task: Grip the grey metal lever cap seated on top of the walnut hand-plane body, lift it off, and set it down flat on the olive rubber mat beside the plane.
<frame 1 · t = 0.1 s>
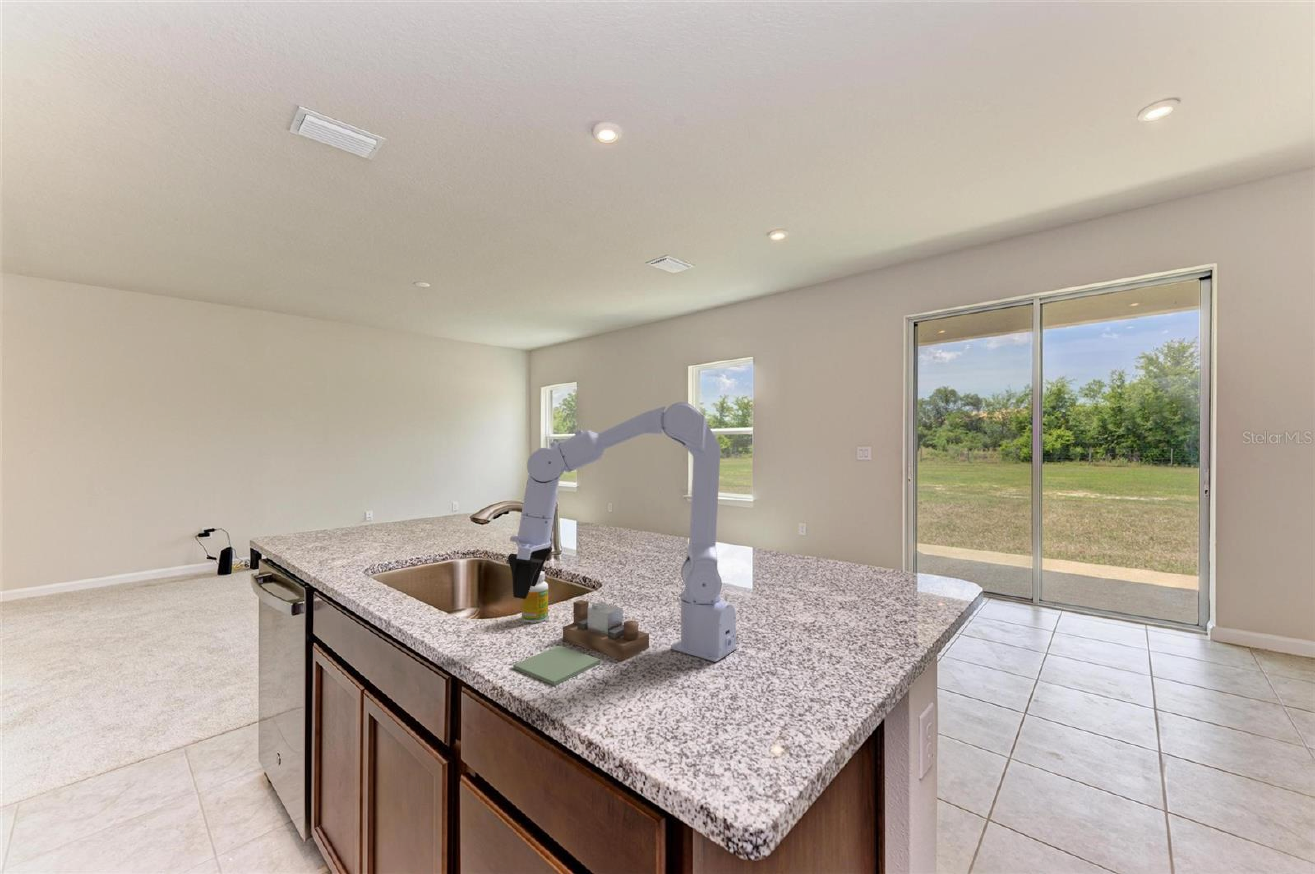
hand: (525, 591, 89), 11 cm above the worktop, tool pointing down, fingers open, 7 cm apart
supplement bottle: (535, 620, 105), on the worktop
plane body: (605, 644, 92), on the worktop
rubber mat: (557, 665, 83), on the worktop
lever cap: (605, 630, 92), point 2 cm above the worktop, touching plane body
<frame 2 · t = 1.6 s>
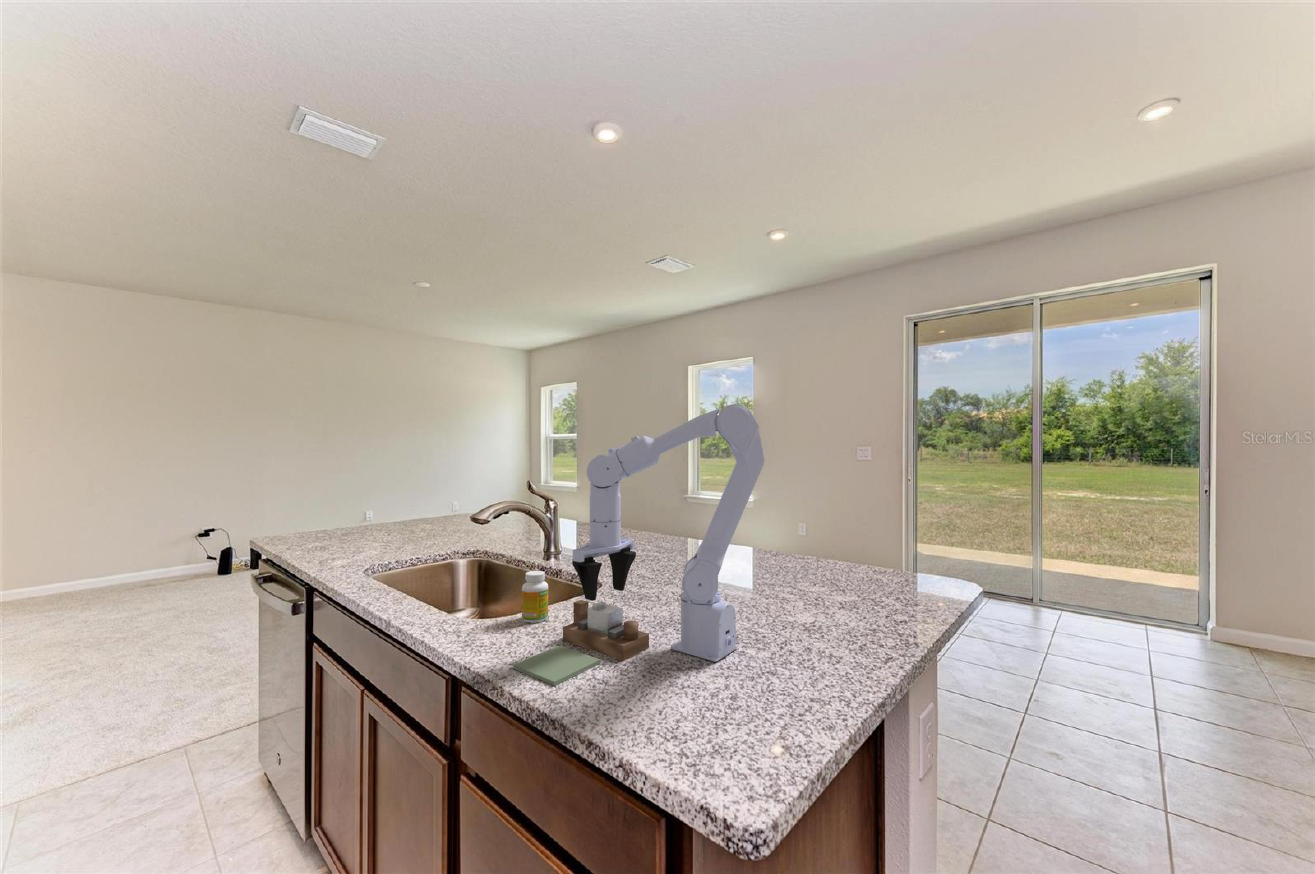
hand: (605, 594, 92), 9 cm above the worktop, tool pointing down, fingers open, 7 cm apart
nothing on the worktop moved.
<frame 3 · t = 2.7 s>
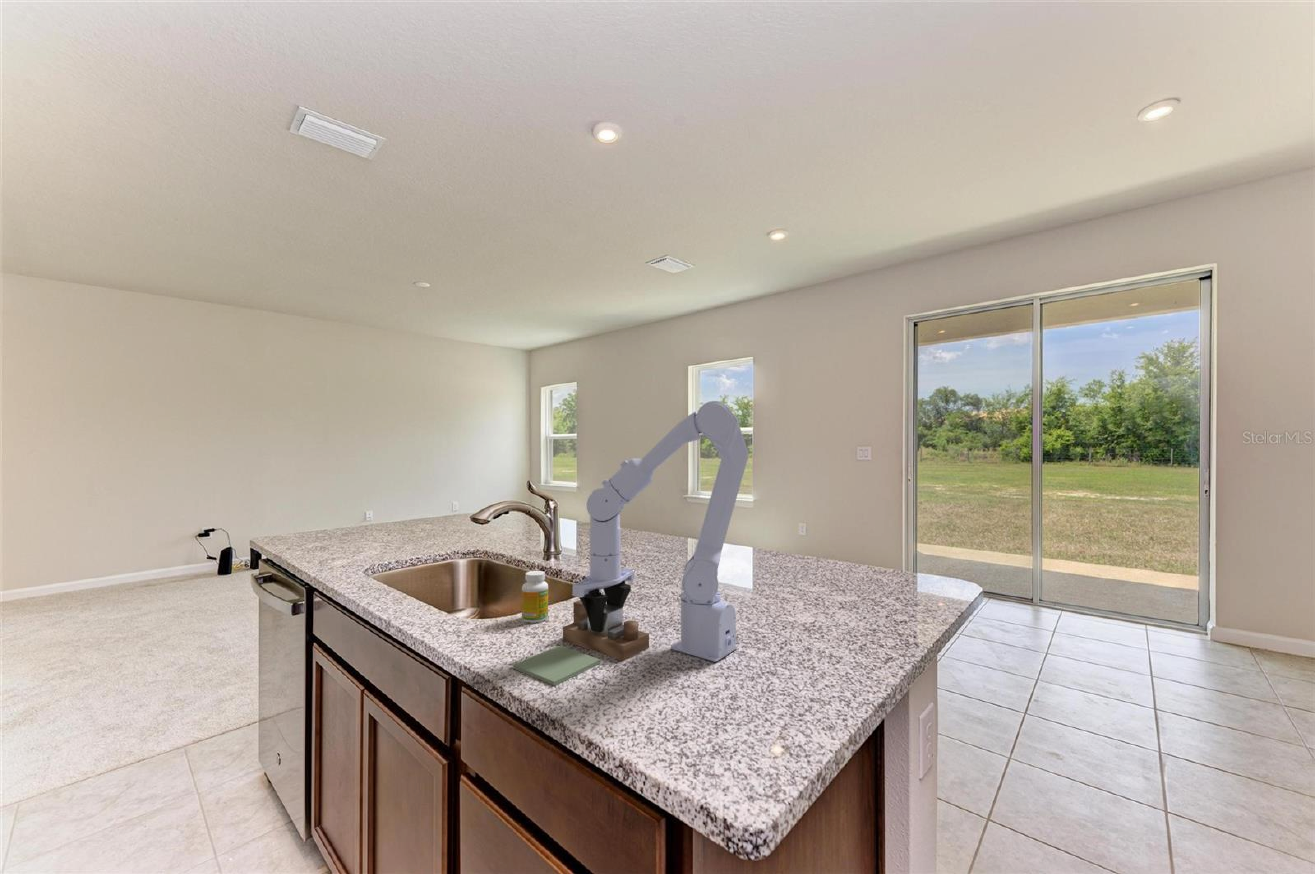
hand: (605, 627, 92), 3 cm above the worktop, tool pointing down, fingers closed on lever cap, 4 cm apart
lever cap: (605, 630, 92), point 2 cm above the worktop, touching gripper, plane body
everything else where it was.
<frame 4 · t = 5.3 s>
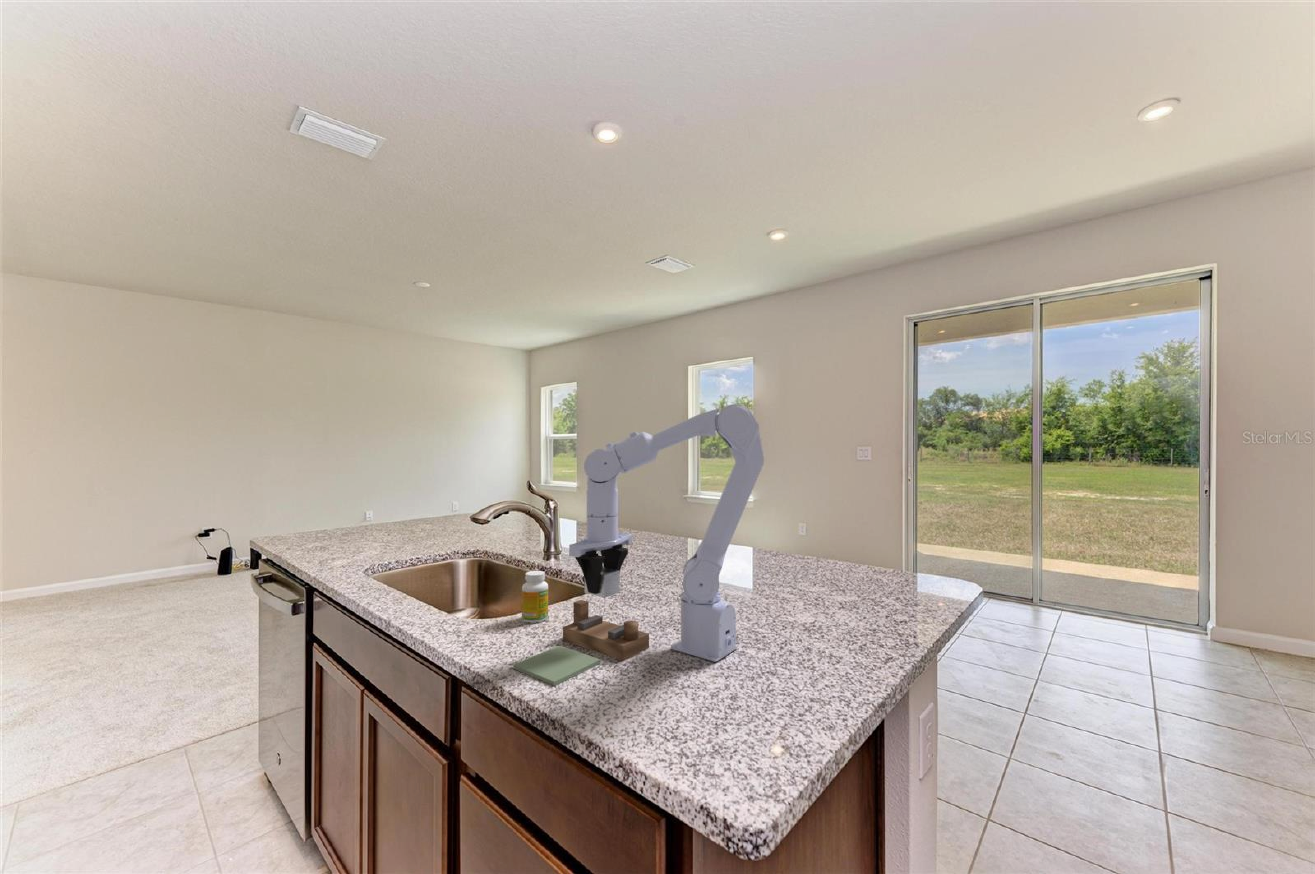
hand: (602, 589, 91), 10 cm above the worktop, tool pointing down, fingers closed on lever cap, 4 cm apart
lever cap: (602, 592, 91), point 10 cm above the worktop, touching gripper
everything else where it was.
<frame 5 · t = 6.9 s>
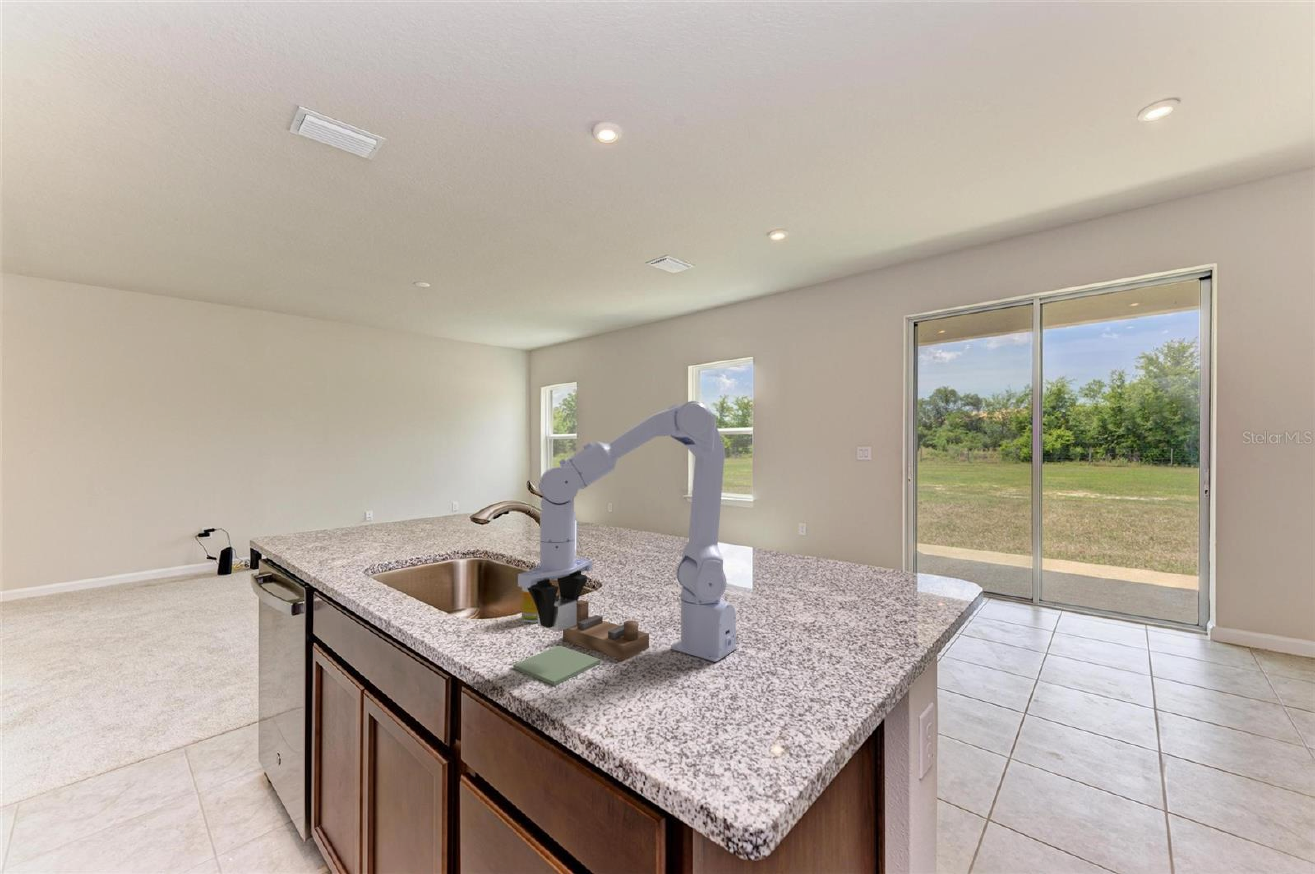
hand: (557, 622, 83), 7 cm above the worktop, tool pointing down, fingers closed on lever cap, 4 cm apart
lever cap: (557, 625, 83), point 7 cm above the worktop, touching gripper
everything else where it was.
when the fingers open (3 cm above the worktop, at t = 8.0 s): lever cap drops 2 cm, resting on rubber mat.
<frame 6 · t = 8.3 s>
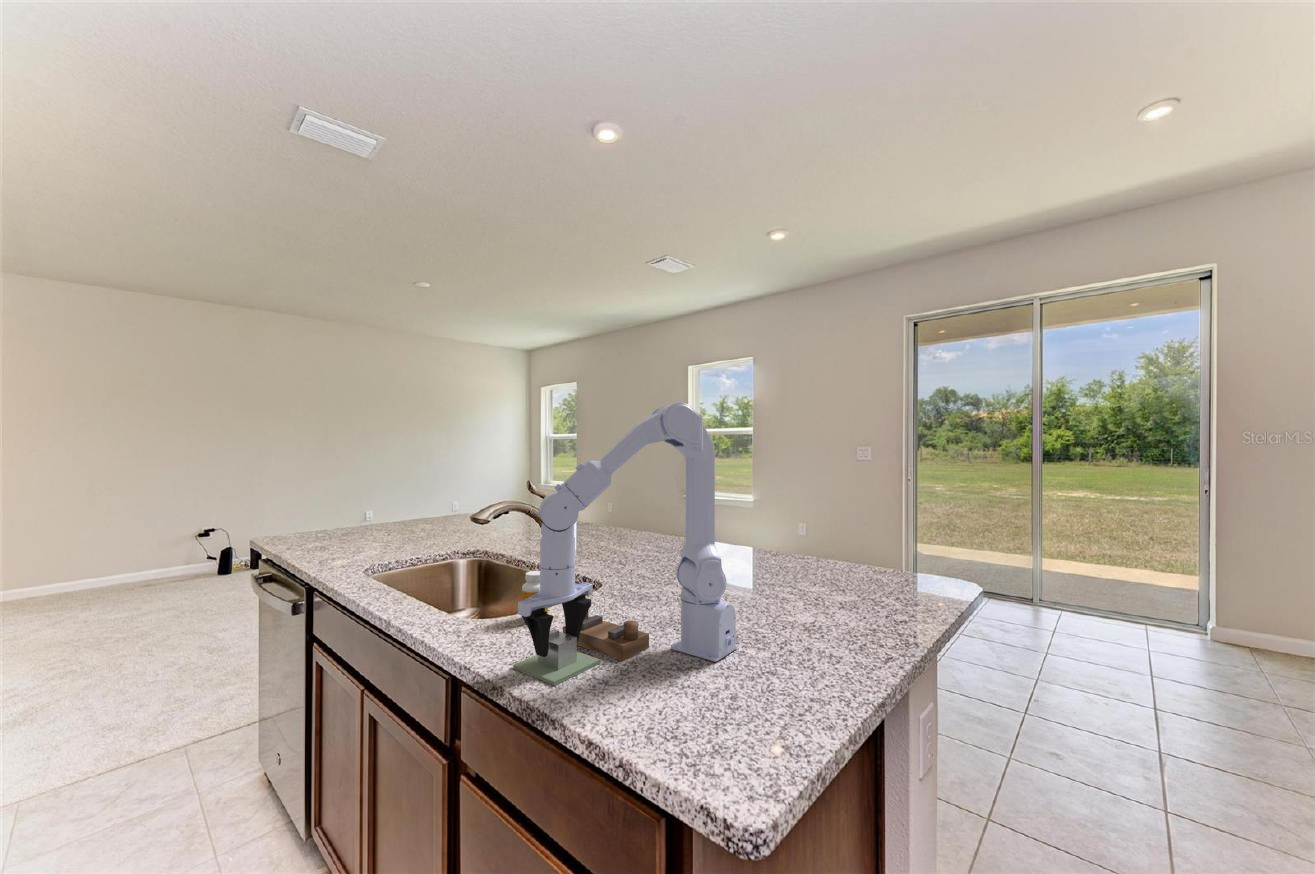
hand: (557, 648, 83), 3 cm above the worktop, tool pointing down, fingers open, 6 cm apart
lever cap: (557, 662, 83), point 1 cm above the worktop, touching rubber mat
everything else where it was.
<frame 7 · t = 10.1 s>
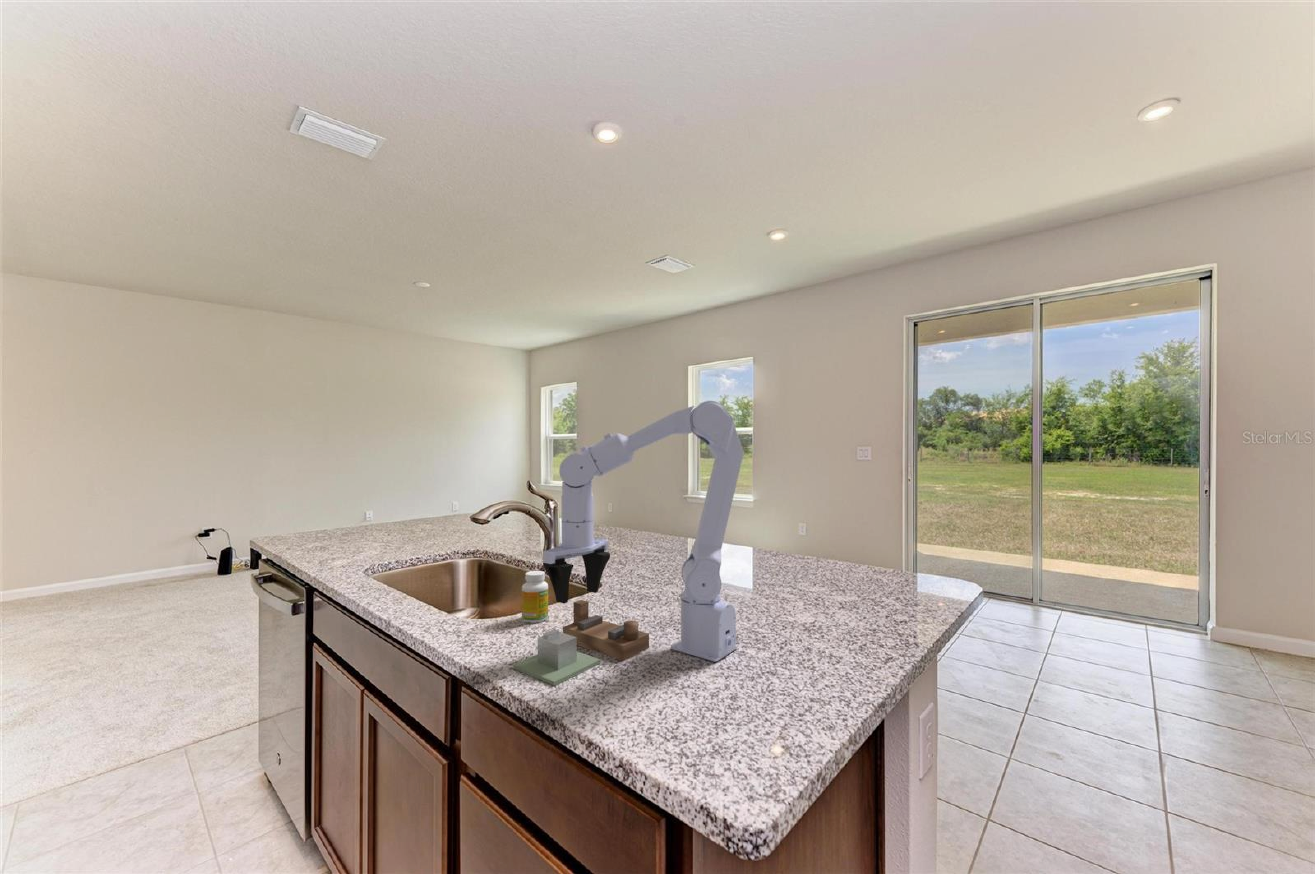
hand: (577, 596, 89), 9 cm above the worktop, tool pointing down, fingers open, 7 cm apart
nothing on the worktop moved.
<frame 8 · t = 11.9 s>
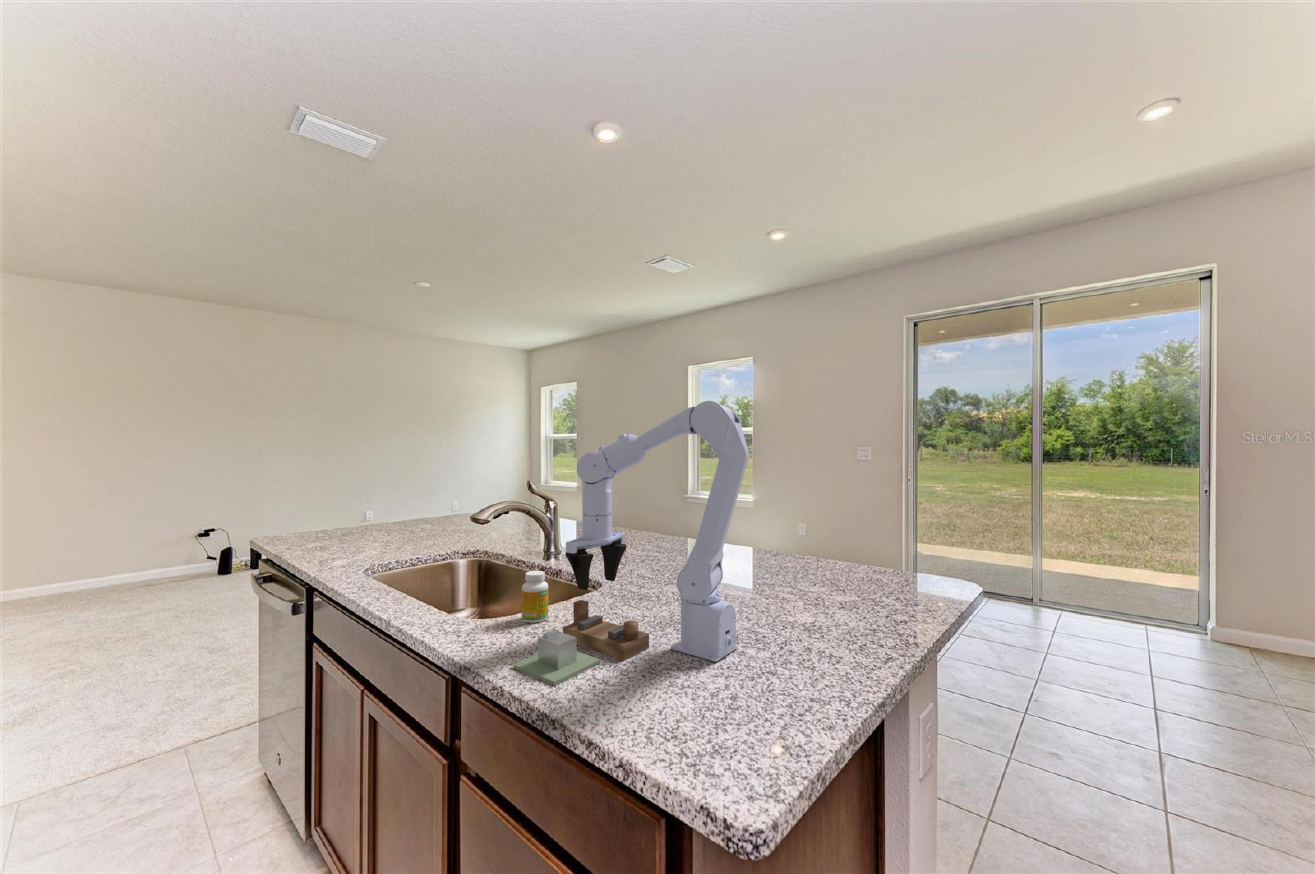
hand: (596, 584, 97), 9 cm above the worktop, tool pointing down, fingers open, 7 cm apart
nothing on the worktop moved.
at the end: lever cap 0.0 cm off-centre on the rubber mat, point 0.6 cm above the rubber mat's base; lever cap tilted 0°; the gripper is holding nothing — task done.
